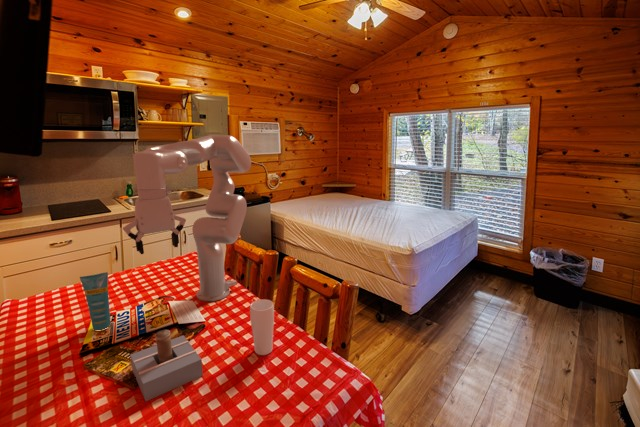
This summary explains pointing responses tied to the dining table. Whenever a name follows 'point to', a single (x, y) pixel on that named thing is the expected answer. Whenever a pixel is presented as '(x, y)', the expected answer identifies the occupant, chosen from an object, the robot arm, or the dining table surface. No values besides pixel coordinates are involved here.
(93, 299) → the tube
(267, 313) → the drinking glass
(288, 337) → the dining table surface
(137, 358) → the socket block
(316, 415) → the dining table surface
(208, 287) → the robot arm
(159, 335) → the walnut peg
